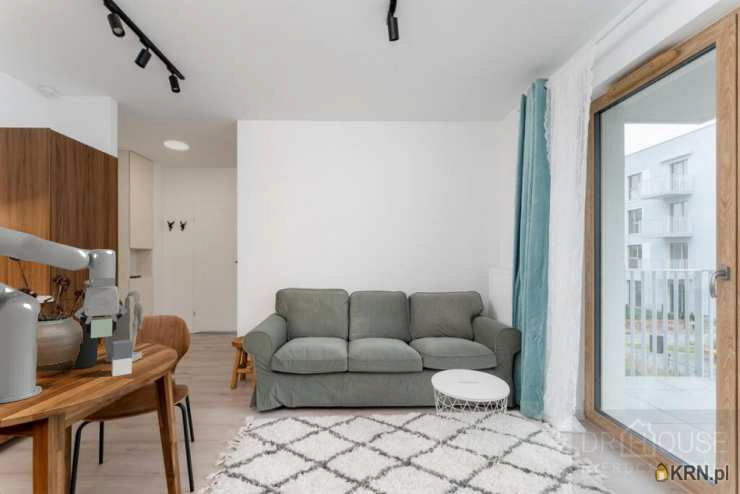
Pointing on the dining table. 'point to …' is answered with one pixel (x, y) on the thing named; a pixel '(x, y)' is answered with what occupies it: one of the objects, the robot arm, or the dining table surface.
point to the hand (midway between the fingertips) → (101, 333)
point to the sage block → (101, 327)
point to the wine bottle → (86, 348)
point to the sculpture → (127, 325)
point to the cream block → (121, 366)
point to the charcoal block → (122, 349)
